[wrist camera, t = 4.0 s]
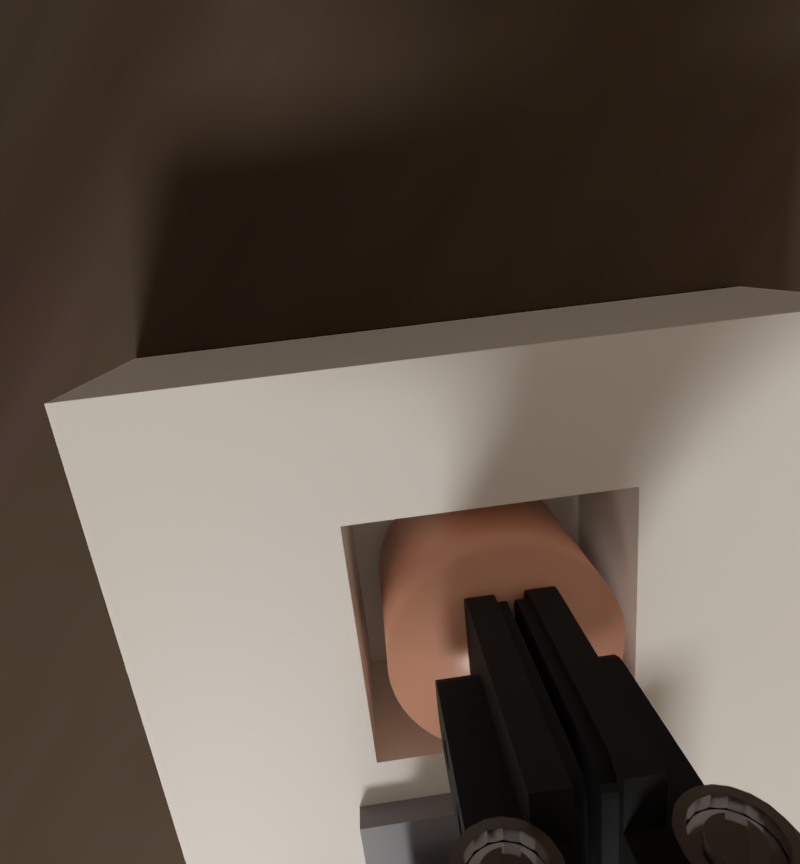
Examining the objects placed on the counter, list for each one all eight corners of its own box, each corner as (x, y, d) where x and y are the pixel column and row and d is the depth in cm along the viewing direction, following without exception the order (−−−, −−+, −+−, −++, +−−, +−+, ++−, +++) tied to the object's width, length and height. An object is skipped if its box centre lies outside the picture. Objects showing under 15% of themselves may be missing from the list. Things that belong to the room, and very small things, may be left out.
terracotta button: (368, 490, 13) (373, 565, 10) (562, 464, 13) (627, 530, 10) (390, 654, 14) (401, 765, 11) (566, 628, 14) (623, 731, 11)
